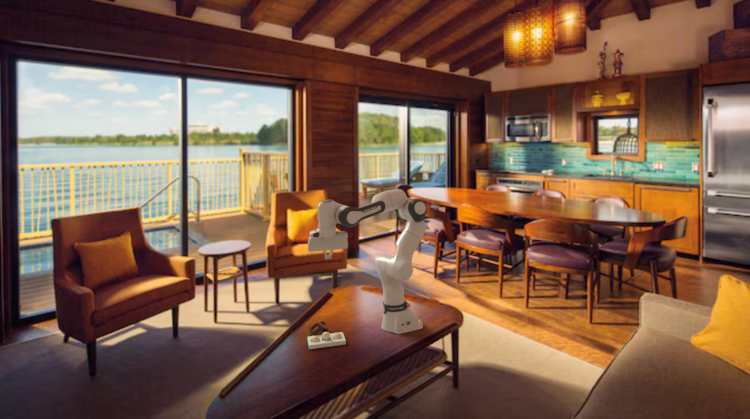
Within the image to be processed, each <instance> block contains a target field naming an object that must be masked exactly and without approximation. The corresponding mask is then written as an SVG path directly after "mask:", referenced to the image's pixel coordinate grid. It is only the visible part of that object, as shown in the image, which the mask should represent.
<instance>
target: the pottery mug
mask: <svg viewBox="0 0 750 419" xmlns="http://www.w3.org/2000/svg"><path fill="white" fill-rule="evenodd" d="M317 327H318V328H317ZM315 328H317V329H316V330H315ZM308 332H309V334H310V335H309V336H316V335H319V333H324V332H329V333H330V331H329V329H328V327H327V326H326V322H325V321H320V322H315V323H314V324H313V325H312V326H311V327H310V329H309V331H308Z"/></svg>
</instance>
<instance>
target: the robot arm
mask: <svg viewBox="0 0 750 419" xmlns="http://www.w3.org/2000/svg"><path fill="white" fill-rule="evenodd" d="M391 211H395V213H396V215H397V217H398V218H399V219H400V220H403V221H406V224H405V227H404V228H403V230H402V232H401V233H400V235H399V237H398V238H397V240H396V241H395V247H396V252H395V254H394V255H391V254H388V253H387V254H385V253H384V254H379V255H377V256H376V257H375V258H374V263H373V267H374V269H375V270H376V272H377V274H378V275H379V278H380V282H381V286H382V292H383V295H382V296H383V301H382V313H383V314H382V316H383V317H382V322H381V326H380V327H381V328H380V329H382V330H383V331H384V332H385V331H386V332H388V333H389V332H390V333H394V334H397V335H400V334H405V333H408V332H409V333H411V332H413V331H418V330H421V329H423V328H424V323H423V322H422V321H421V319H420V318H419V316H418V314H417V313H416V312H415V310H413V309H411V306H412V305H411V304H410V303H409V302H408V301H407V300H405V288H404V286H403V284H402V283H401V281H408V280H409V279H410V278H411V277H412V275H413V273H414V266H413V264H412V262H413V261H412V260H413V257H414V254H415V252H416V250H417V248H418V246H419V245H420V244H421V241H422V239H423V237H424V235H425V232H426V230H427V224H426V222H425V221H424V220H426V215H427V212H428V205H427V203H426V202H425V201H424V200H423V199H420V198H414V199H413V198H412V199H409V198H408V197H407V194H406V192H405V191H404V190H403V189H400V188H398V189H397V188H394V189H389V190H385V191H381V192H378V193H376V194H375V195H373V197H372V198H371V202H370V203H369V204H366V205H363V206H360V207H354V206H348V205H344V204H341V203H339V202H336V201H334V199H324V200H321V201H320V202H319V203H318V204H317V221H318V225H317V228H316V229H313V230H311V231H310V232H309V237H308V240H307V251H308V252H309V253H311V252H312V253H313V252H322V253H323V254H324V258H325V260H330V259H332V255H333V253H334V250H335V251H336V250H337V251H338V250H346V249H348V247H349V243H348V237H349V235H348V232H347V231H345V230H341V231H340V230H337V229H336V228H337V227H336V225H337V224H340V225H342V226H343V227H346V228H353V227H355V226H357V225H358V224H359V223H360V222H361V221H363V220H366V219H368V218H371V217H374V216H376V215H379V214H385V213H388V212H391ZM327 251H329V252H330V253H329V254H327Z"/></svg>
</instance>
